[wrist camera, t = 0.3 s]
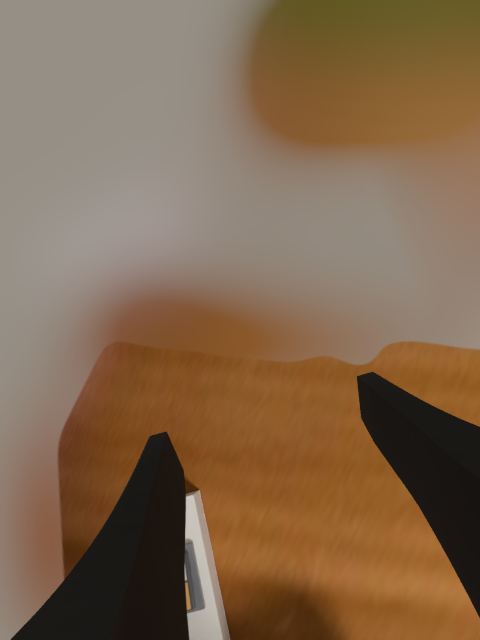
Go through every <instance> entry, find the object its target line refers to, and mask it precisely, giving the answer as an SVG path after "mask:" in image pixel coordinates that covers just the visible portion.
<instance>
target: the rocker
mask: <svg viewBox="0 0 480 640" xmlns="http://www.w3.org/2000/svg"><path fill="white" fill-rule="evenodd" d="M185 588H186V603H187V611H190V610H193V609H194V608H195V607H196V604H195V597H194V590H193V583H192V576H191V569H190V562H189V555H188V552H187V553H185Z"/></svg>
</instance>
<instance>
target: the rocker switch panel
mask: <svg viewBox="0 0 480 640" xmlns="http://www.w3.org/2000/svg"><path fill="white" fill-rule="evenodd" d="M187 552H188V555H189V562H190V569H191V576H192V583H193V590H194V597H195V604H196V607H195V608H194V609H193V610H190V611H187V617H188V629H189V640H231V639H230V634H229V629H228V625H227V620H226V615H225V610H224V605H223V600H222V596H221V591H220V586H219V581H218V576H217V571H216V567H215V562H214V557H213V552H212V547H211V543H210V538H209V533H208V528H207V523H206V518H205V514H204V509H203V504H202V499H201V494H200V490H198V491H194V492H190V493H187V494H186V528H185V553H187Z"/></svg>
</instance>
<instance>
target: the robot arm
mask: <svg viewBox="0 0 480 640" xmlns="http://www.w3.org/2000/svg"><path fill="white" fill-rule="evenodd" d="M357 383H358V392H359V401H360V411H361V419H362V420H363V422H364V424H365V426H366V428H367V430H368V432H369V434H370V435H371V437H372V439H373V441H374V443H375V444H376V445H377V447H378V448H379V450H380V451H381V453H382V454H383V456H384V457H385V458H386V460H387V461H388V463H389V464H390V465H391V467H392V468H393V470H394V471H395V472H396V474H397V475H398V477H399V478H400V479H401V481H402V482H403V484H404V485H405V487H406V488H407V489H408V491H409V492H410V494H411V495H412V497H413V498H414V500H415V501H416V503H417V504H418V506H419V507H420V509H421V511H422V512H423V514H424V516H425V518H426V519H427V521H428V523H429V525H430V526H431V528H432V530H433V531H434V533H435V535H436V537H437V539H438V540H439V542H440V544H441V546H442V548H443V549H444V551H445V553H446V555H447V557H448V558H449V560H450V562H451V564H452V566H453V568H454V569H455V571H456V573H457V575H458V577H459V579H460V581H461V583H462V585H463V586H464V588H465V590H466V592H467V594H468V596H469V598H470V600H471V602H472V604H473V606H474V608H475V609H476V611H477V613H478V615H479V617H480V427H479V426H476V425H474V424H471V423H469V422H466V421H464V420H462V419H459V418H457V417H455V416H453V415H450V414H448V413H446V412H444V411H442V410H440V409H438V408H436V407H434V406H432V405H430V404H428V403H426V402H424V401H422V400H421V399H419V398H417V397H415V396H413V395H411V394H410V393H408V392H406V391H404V390H403V389H401V388H399V387H398V386H396V385H394V384H392V383H391V382H389V381H387V380H386V379H384V378H382V377H381V376H379V375H377V374H376V373H374V372H370V373H367V374H363V375H360V376H357ZM185 528H186V491H185V480H184V470H183V468H182V466H181V463H180V461H179V459H178V457H177V454H176V452H175V450H174V447H173V445H172V443H171V441H170V438H169V436H168V434H167V431H166V432H163V433H159V434H156V435H152V436H150V437H149V439H148V441H147V443H146V445H145V448H144V450H143V452H142V454H141V457H140V459H139V461H138V463H137V465H136V467H135V469H134V471H133V474H132V476H131V478H130V480H129V482H128V484H127V486H126V488H125V489H124V491H123V493H122V495H121V497H120V499H119V500H118V502H117V504H116V506H115V508H114V509H113V511H112V513H111V515H110V516H109V518H108V520H107V521H106V523H105V524H104V526H103V528H102V529H101V531H100V532H99V534H98V535H97V537H96V538H95V540H94V541H93V543H92V544H91V546H90V547H89V548H88V550H87V551H86V553H85V554H84V555H83V557H82V558H81V559H80V561H79V562H78V563H77V565H76V566H75V567H74V569H73V570H72V571H71V573H70V574H69V575H68V576H67V578H66V579H65V580H64V581H63V582H62V584H61V585H60V586H59V587H58V588H57V590H56V591H55V592H54V593H53V594H52V595H51V597H50V598H49V599H48V600H47V601H46V602H45V603H44V605H43V606H42V607H41V608H40V609H39V611H37V612H36V614H35V615H34V616H33V617H32V618H31V619H30V620H29V621H28V622H27V623H26V624H25V625H24V626H23V627H22V628H21V629H20V630H19V631H18V632H17V633H16V635H15V636H14V637H13V638H12V639H11V640H189V629H188V617H187V603H186V588H185Z"/></svg>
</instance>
